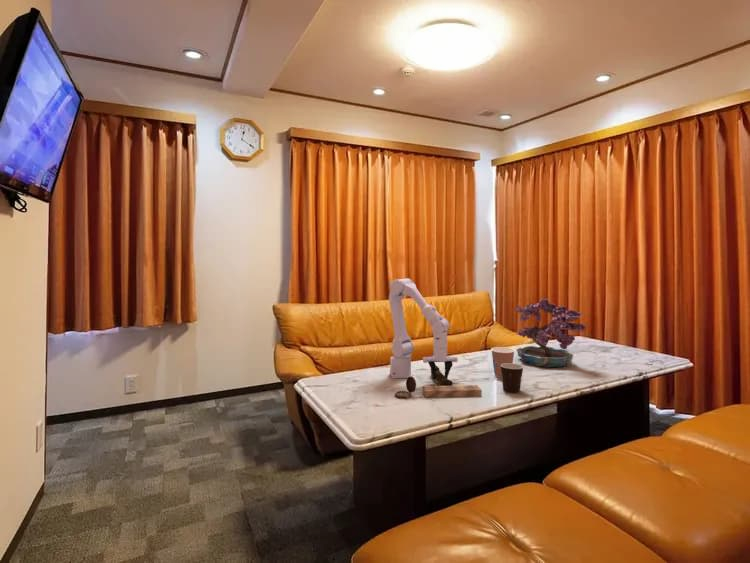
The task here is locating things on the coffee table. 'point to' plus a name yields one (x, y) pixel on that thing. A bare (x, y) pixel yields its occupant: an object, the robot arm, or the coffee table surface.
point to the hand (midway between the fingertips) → (440, 378)
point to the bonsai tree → (548, 334)
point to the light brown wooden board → (452, 391)
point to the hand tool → (441, 378)
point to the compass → (410, 387)
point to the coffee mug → (511, 377)
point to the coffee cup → (501, 358)
